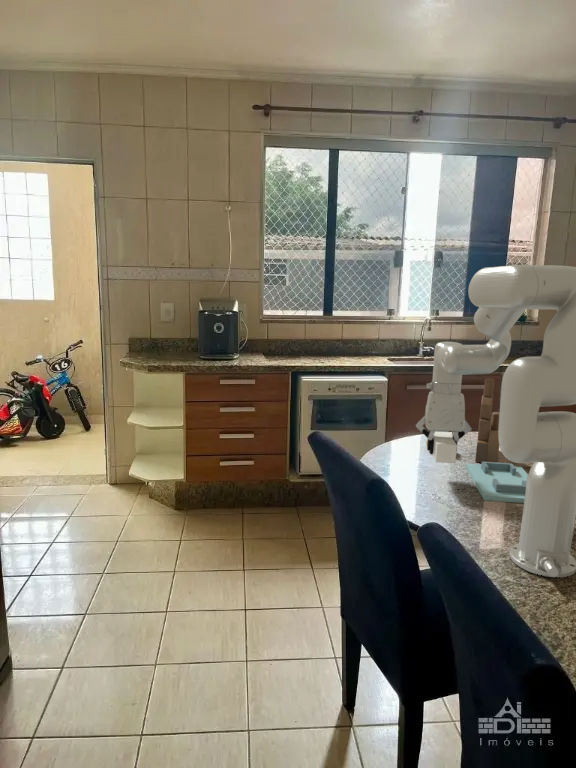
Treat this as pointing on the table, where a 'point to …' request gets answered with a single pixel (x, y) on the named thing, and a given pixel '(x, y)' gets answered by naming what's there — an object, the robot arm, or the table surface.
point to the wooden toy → (488, 427)
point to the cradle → (499, 481)
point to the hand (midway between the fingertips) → (441, 452)
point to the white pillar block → (444, 447)
